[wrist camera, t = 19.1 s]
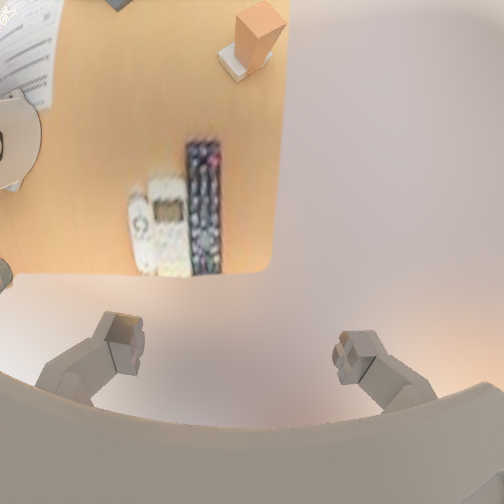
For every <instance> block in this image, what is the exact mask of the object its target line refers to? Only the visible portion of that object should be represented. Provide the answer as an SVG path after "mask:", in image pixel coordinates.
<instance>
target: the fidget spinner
mask: <svg viewBox="0 0 504 504" xmlns="http://www.w3.org/2000/svg"><path fill="white" fill-rule="evenodd" d="M5 8H6V10H5V12H4V14H3V15H1V13H2V11H3V10H4V9H5ZM8 9H9V6H5V7H3V8H2V10H1V11H0V24H1V27H0V31H1V30H2V28H3V26H4V24H5V22H6V21H7V20H9V19H12V18H13V17H14V16H15V14H16V13H17V10H18V8H17V7H13V8H12V9H11V10H8ZM14 9H15V11H14V13H13V15H12V16H11V17H10V13H11V12H12V10H14ZM6 14H7V16H6V18H5V20H4V21H2V19H3V17H4V16H5V15H6Z"/></svg>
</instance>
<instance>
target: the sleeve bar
mask: <svg viewBox="0 0 504 504" xmlns="http://www.w3.org/2000/svg"><path fill="white" fill-rule="evenodd" d="M286 24H287V23H286V21H285V20H284V19H283V18H282V17H281V16H280V15H279V14H278V12H277V11H276V10H275V9H274V8H273V7H272V6H271V5H270V4H269V3H268V2H267V1H266V0H265V1H263V2H261V3H258V4H256V5H254V6H252V7H250V8H248V9H247V10H245V11H243V12H241V13H239V14H237V15H236V31H235V42H233V43H231V44H230V45H228V46H227V47H225V48H223V49H222V50H220V51H219V52H218V57H219V61H220V63H221V64H222V66H223V67H224V68H225V69H226V70H227V71H228V73H229V74H230V75H231V76H232V77H233V79H234V80H235V81H236V82H237V83H238V82H239V81H241V80H242V79H244V78H246V77H247V76H249V75H250V74H252V73H253V72H255V71H257V70H258V69H260V68H262V67H263V66H265V65H266V64H267V63H268V62H269V61H270V59H271V58H272V56H273V54H272V52H271V51H270V50H271V48H272V47H273V45H274V43H275V42H276V40H277V38H278V37H279V35H280V34H281V32H282V30H283V29H284V27H285V26H286Z"/></svg>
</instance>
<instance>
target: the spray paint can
mask: <svg viewBox="0 0 504 504" xmlns="http://www.w3.org/2000/svg"><path fill="white" fill-rule="evenodd" d="M12 278H13V275H12V271H11V269H10V267H9V265H8V264H7V263H6V262H5V261H4V260H3V259H0V293H1V292H2V291H3V290H4V289H5V288H6V287H7V286H8V285H9V283H10V282H11V281H12Z"/></svg>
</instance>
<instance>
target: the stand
mask: <svg viewBox="0 0 504 504" xmlns="http://www.w3.org/2000/svg"><path fill="white" fill-rule="evenodd" d="M106 1H107V2H108V3H109V4H110V5H111V6H112V7H113V8H114V9H115V10H116V11H117V12H118V11H120V10H121V9H122V8H123V7H125V6H126V5H127V4H128V3H130V2H131V1H132V0H106Z"/></svg>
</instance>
